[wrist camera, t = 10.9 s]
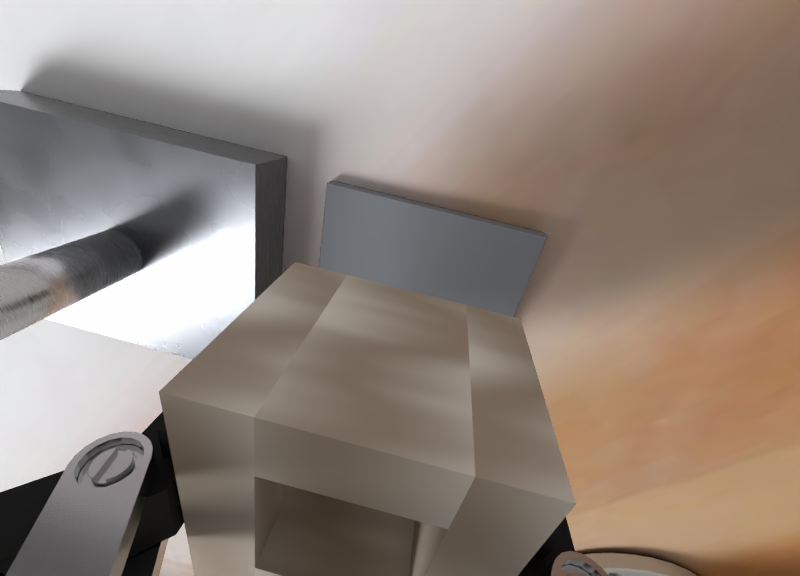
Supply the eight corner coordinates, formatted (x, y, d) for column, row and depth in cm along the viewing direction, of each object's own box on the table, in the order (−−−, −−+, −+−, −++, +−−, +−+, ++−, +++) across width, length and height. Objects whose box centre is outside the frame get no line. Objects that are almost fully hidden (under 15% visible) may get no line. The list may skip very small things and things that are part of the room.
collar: (520, 318, 9) (576, 504, 5) (455, 461, 12) (453, 653, 8) (295, 261, 10) (159, 391, 5) (286, 416, 13) (195, 579, 8)
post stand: (286, 156, 14) (112, 200, 7) (278, 345, 19) (169, 486, 12) (18, 90, 15) (-399, 69, 8) (75, 291, 19) (-148, 394, 12)
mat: (544, 233, 14) (547, 237, 13) (476, 391, 18) (476, 399, 18) (332, 180, 14) (327, 183, 14) (313, 347, 19) (309, 354, 18)
